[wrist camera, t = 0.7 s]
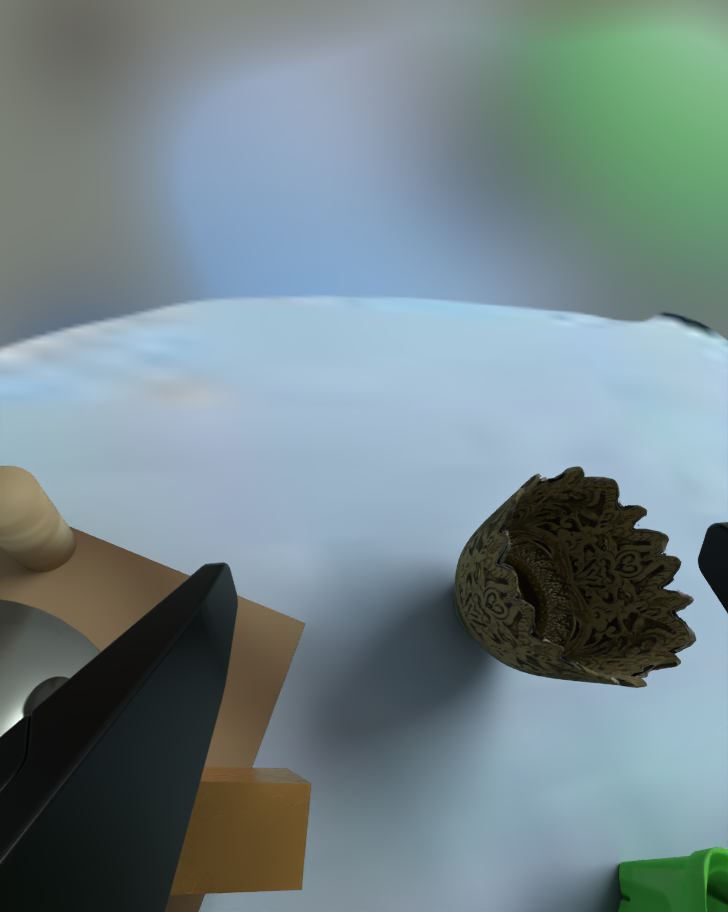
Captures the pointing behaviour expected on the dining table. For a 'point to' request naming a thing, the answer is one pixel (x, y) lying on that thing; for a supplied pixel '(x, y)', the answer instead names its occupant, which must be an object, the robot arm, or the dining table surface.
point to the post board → (127, 600)
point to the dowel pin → (32, 523)
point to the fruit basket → (676, 883)
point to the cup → (572, 585)
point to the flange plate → (220, 790)
